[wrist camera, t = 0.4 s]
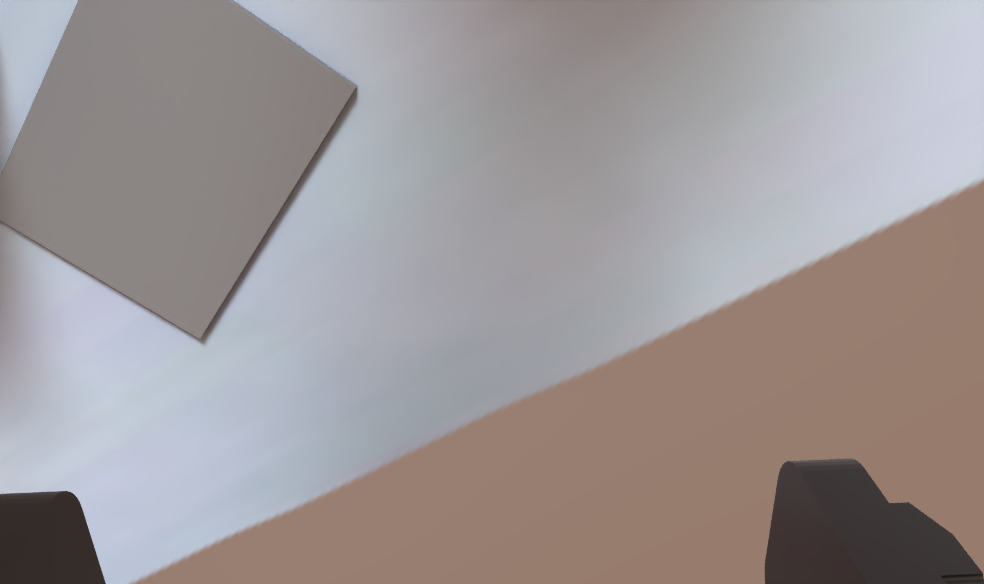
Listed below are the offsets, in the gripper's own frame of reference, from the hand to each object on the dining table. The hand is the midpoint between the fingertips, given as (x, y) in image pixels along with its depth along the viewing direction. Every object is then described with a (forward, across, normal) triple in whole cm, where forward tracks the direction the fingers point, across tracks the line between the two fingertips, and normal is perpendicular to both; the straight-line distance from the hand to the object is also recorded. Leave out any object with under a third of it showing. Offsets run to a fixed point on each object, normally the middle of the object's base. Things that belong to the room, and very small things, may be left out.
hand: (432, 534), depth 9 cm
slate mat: (+22, +10, +1) cm, 24 cm away
